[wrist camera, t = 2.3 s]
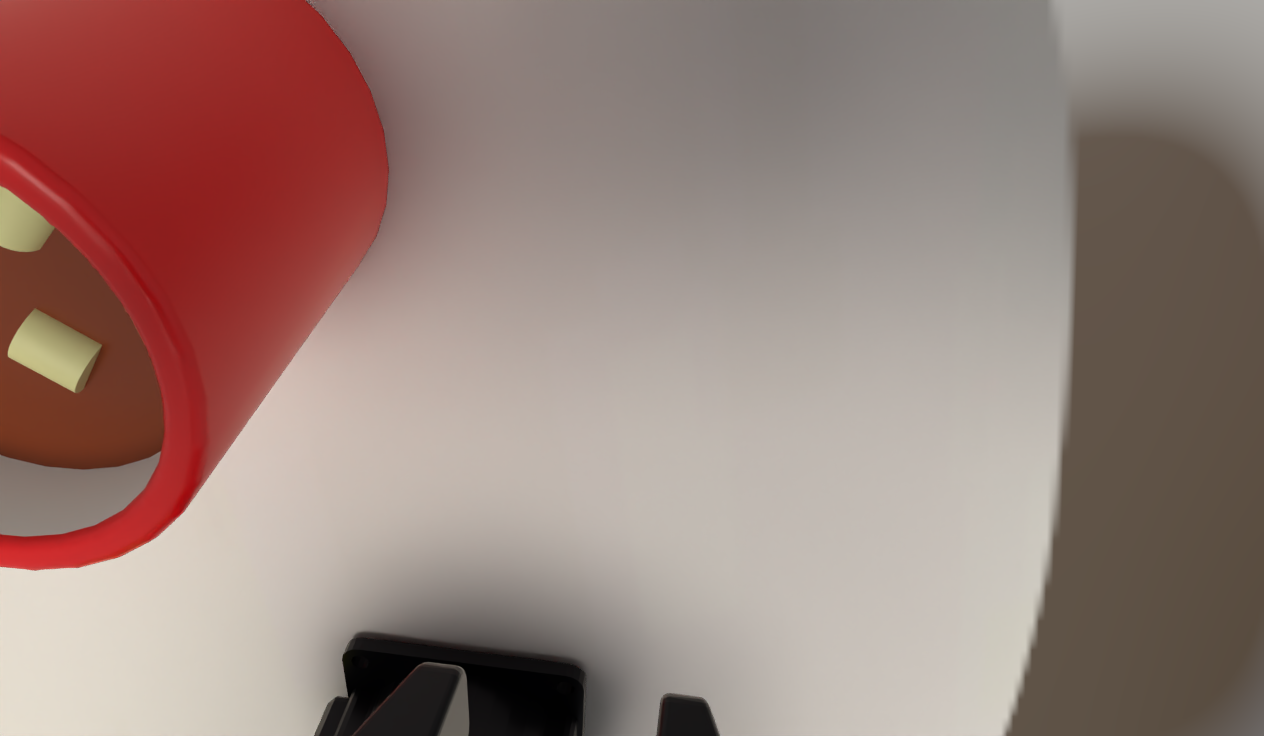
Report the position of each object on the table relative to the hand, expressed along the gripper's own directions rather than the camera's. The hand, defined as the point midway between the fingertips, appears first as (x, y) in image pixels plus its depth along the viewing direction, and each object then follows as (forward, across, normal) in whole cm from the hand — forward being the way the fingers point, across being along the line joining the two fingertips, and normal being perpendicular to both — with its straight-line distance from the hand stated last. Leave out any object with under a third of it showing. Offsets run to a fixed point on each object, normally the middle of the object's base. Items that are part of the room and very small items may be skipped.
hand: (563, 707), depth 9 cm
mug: (+12, +12, 0) cm, 17 cm away
